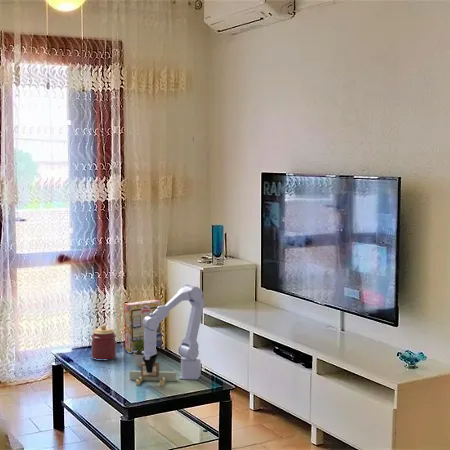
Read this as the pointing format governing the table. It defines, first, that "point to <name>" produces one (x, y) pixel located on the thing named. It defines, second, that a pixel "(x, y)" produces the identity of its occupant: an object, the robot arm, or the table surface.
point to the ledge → (162, 377)
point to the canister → (103, 343)
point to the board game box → (139, 321)
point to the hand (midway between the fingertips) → (150, 371)
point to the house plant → (140, 347)
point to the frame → (154, 371)
